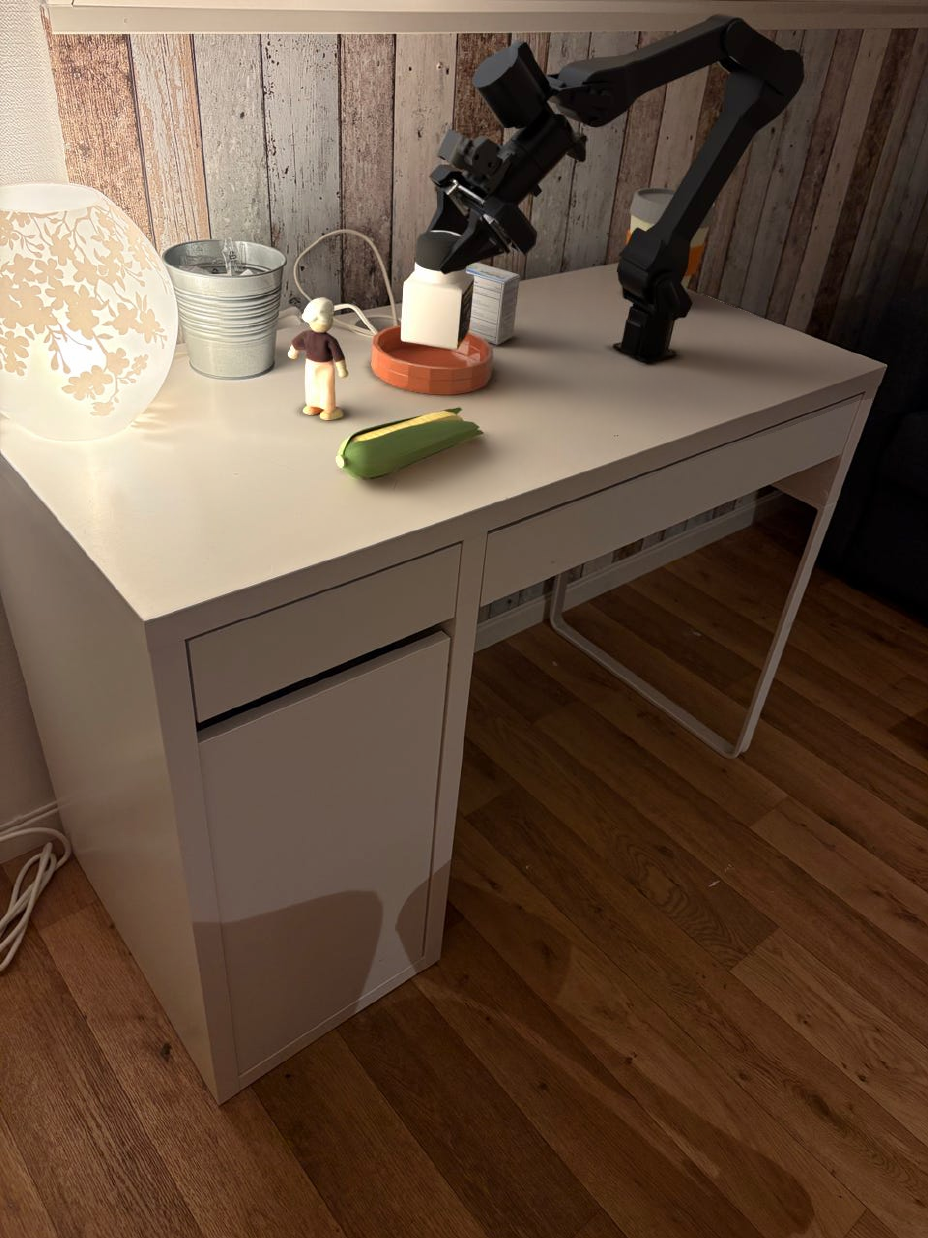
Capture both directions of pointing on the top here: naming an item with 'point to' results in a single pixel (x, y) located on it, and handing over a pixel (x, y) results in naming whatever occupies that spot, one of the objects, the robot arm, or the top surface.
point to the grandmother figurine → (320, 359)
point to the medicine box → (493, 302)
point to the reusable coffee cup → (650, 210)
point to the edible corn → (403, 443)
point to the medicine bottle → (436, 296)
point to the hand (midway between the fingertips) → (430, 262)
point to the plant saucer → (431, 364)
